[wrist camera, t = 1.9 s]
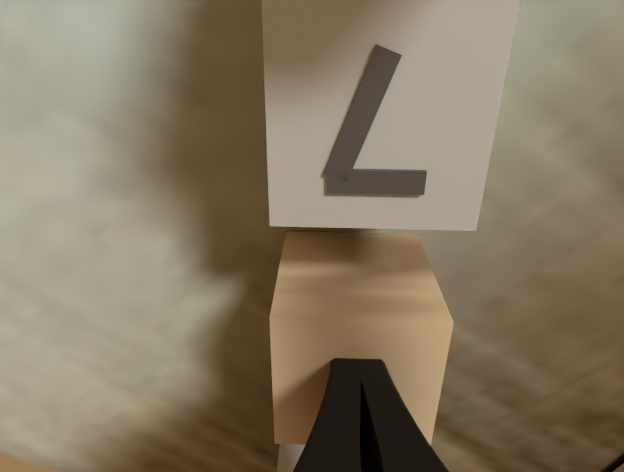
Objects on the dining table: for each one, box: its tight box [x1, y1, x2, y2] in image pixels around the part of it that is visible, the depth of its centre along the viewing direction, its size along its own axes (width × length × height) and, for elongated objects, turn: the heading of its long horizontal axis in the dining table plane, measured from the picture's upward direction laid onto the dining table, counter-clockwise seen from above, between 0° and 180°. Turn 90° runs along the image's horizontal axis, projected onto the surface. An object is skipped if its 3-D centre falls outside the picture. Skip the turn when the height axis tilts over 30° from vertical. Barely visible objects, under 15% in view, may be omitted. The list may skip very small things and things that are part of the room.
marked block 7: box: [261, 0, 520, 231], centre depth 11 cm, size 4×4×5 cm
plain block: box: [269, 231, 454, 446], centre depth 14 cm, size 4×4×5 cm
